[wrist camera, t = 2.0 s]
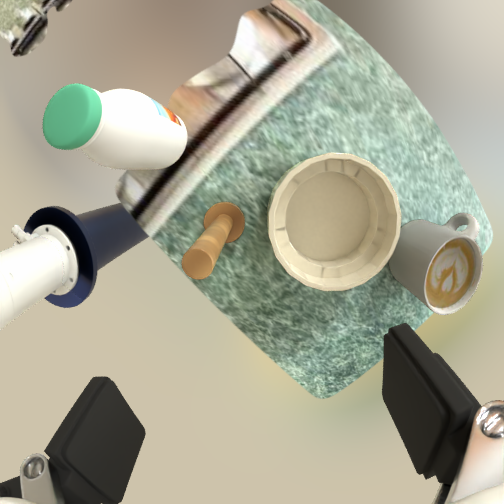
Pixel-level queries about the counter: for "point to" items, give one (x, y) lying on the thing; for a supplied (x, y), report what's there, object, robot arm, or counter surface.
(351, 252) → the bowl
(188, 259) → the wooden masher
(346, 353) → the counter surface
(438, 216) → the counter surface
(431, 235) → the coffee mug
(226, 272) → the counter surface
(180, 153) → the milk bottle
